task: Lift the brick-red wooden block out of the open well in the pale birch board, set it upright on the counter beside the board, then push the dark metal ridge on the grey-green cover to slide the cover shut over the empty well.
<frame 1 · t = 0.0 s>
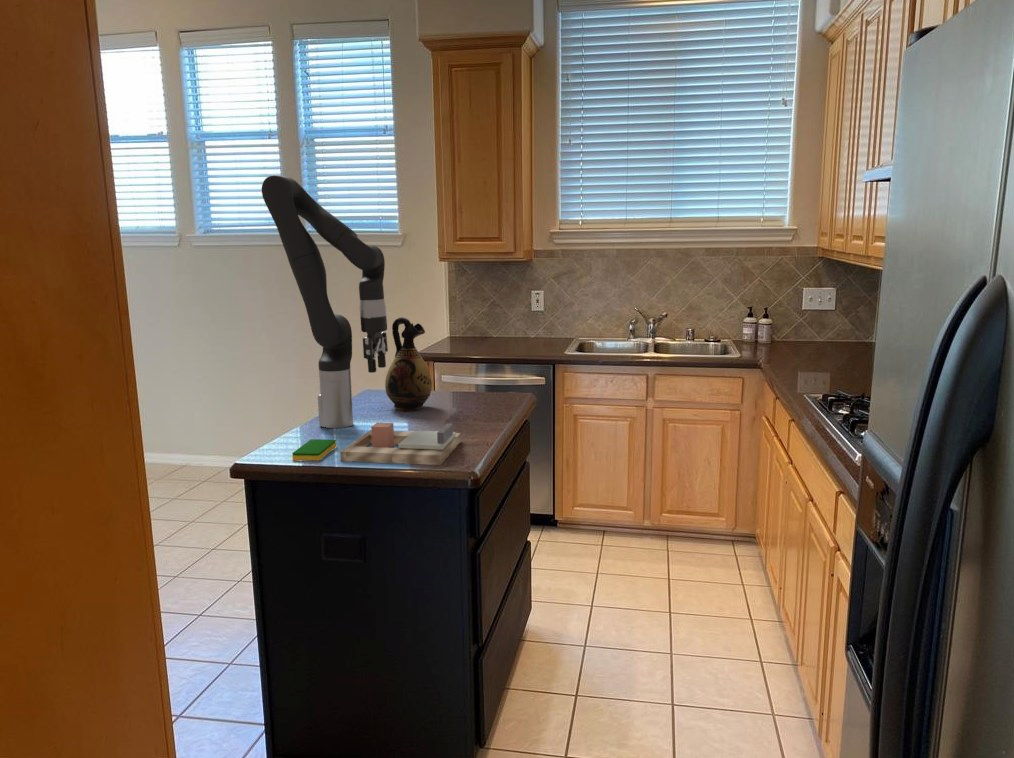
hand: (377, 369, 221), 17 cm above the countertop, tool pointing down, fingers open, 8 cm apart
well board: (401, 450, 197), on the countertop
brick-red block: (383, 450, 198), resting in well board
ceramic jug: (407, 408, 249), on the countertop
dish sponge: (315, 455, 196), on the countertop
cover: (427, 434, 195), point 5 cm above the countertop, slide at 0.0 cm
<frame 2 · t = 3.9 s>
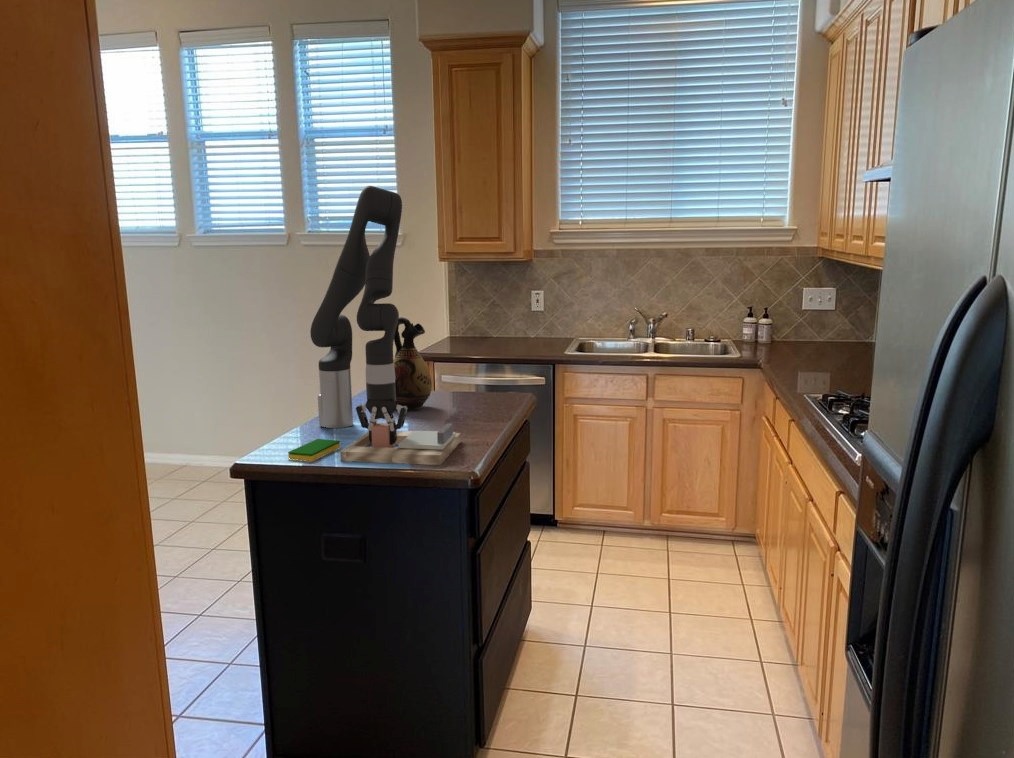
hand: (383, 443, 198), 2 cm above the countertop, tool pointing down, fingers closed on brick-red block, 4 cm apart
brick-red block: (383, 450, 198), resting in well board, touching gripper
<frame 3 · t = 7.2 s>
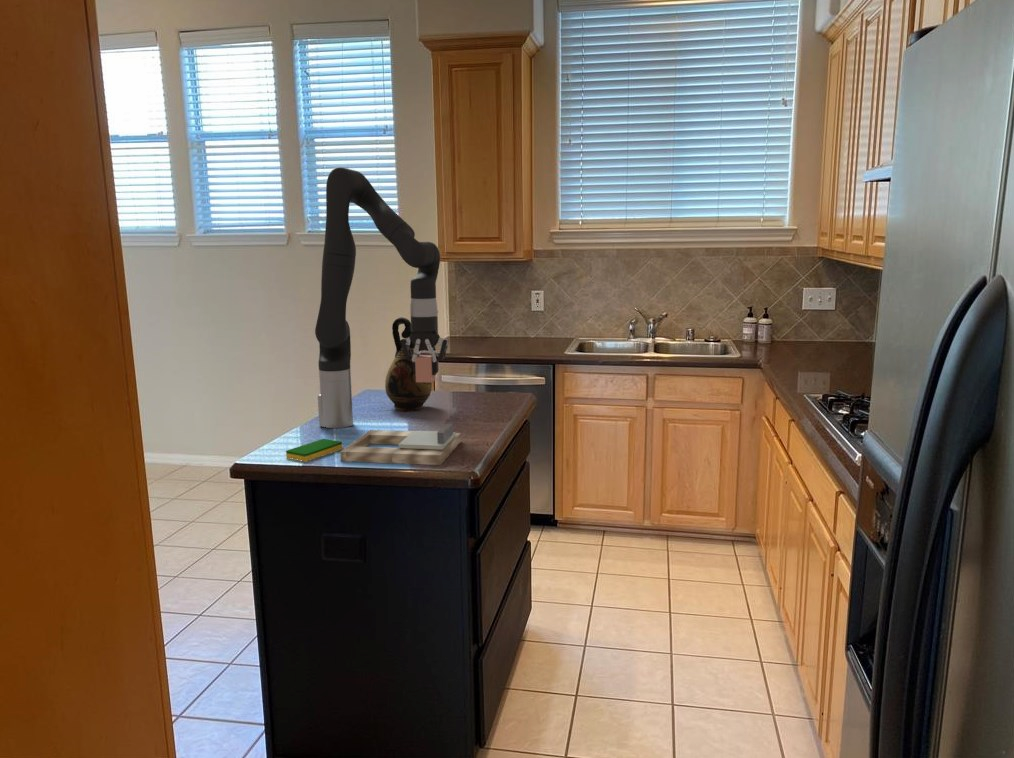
hand: (425, 374, 212), 17 cm above the countertop, tool pointing down, fingers closed on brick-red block, 4 cm apart
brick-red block: (425, 380, 212), point 15 cm above the countertop, touching gripper
when the fingers open (3 cm above the countertop, at t = 10.3 s): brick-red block drops 1 cm, on the countertop.
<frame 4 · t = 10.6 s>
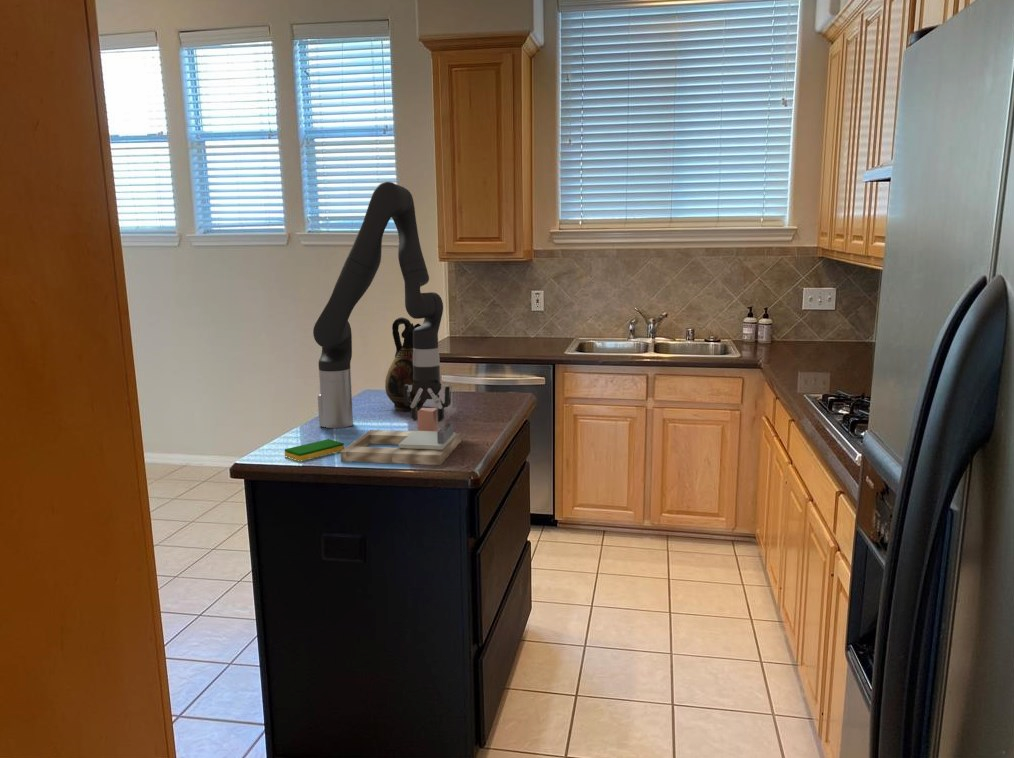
hand: (427, 420, 215), 4 cm above the countertop, tool pointing down, fingers open, 6 cm apart
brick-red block: (428, 433, 216), on the countertop
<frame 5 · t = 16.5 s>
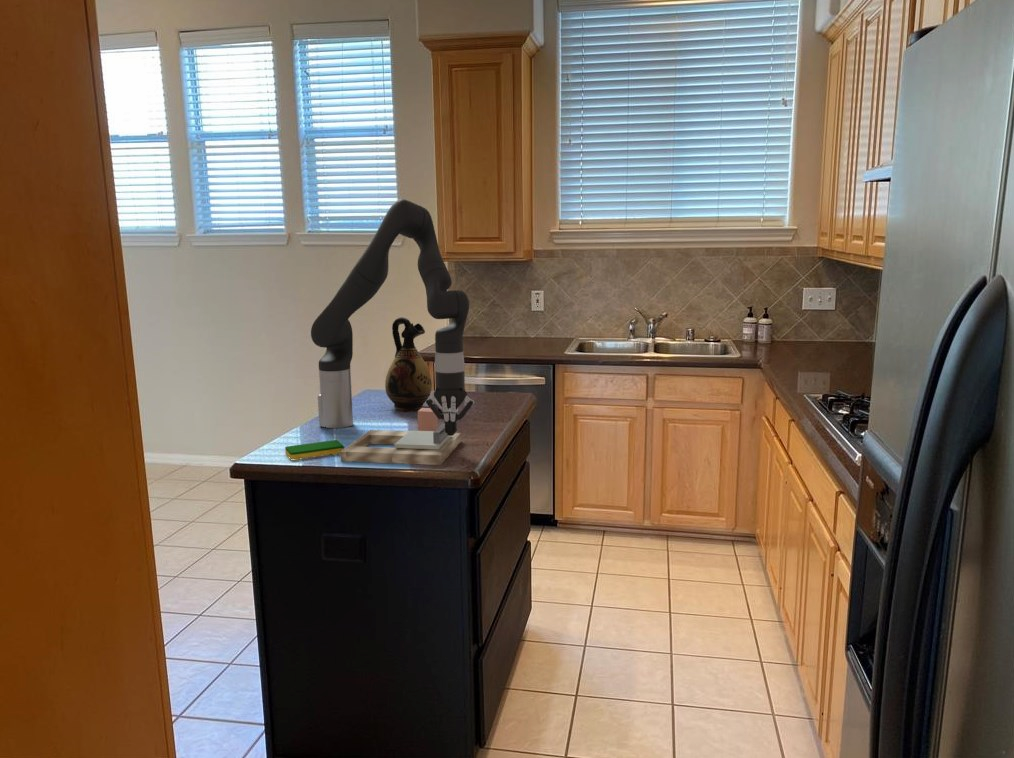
hand: (451, 434, 194), 5 cm above the countertop, tool pointing down, fingers closed
cover: (423, 434, 196), point 5 cm above the countertop, slide at 1.1 cm, touching gripper
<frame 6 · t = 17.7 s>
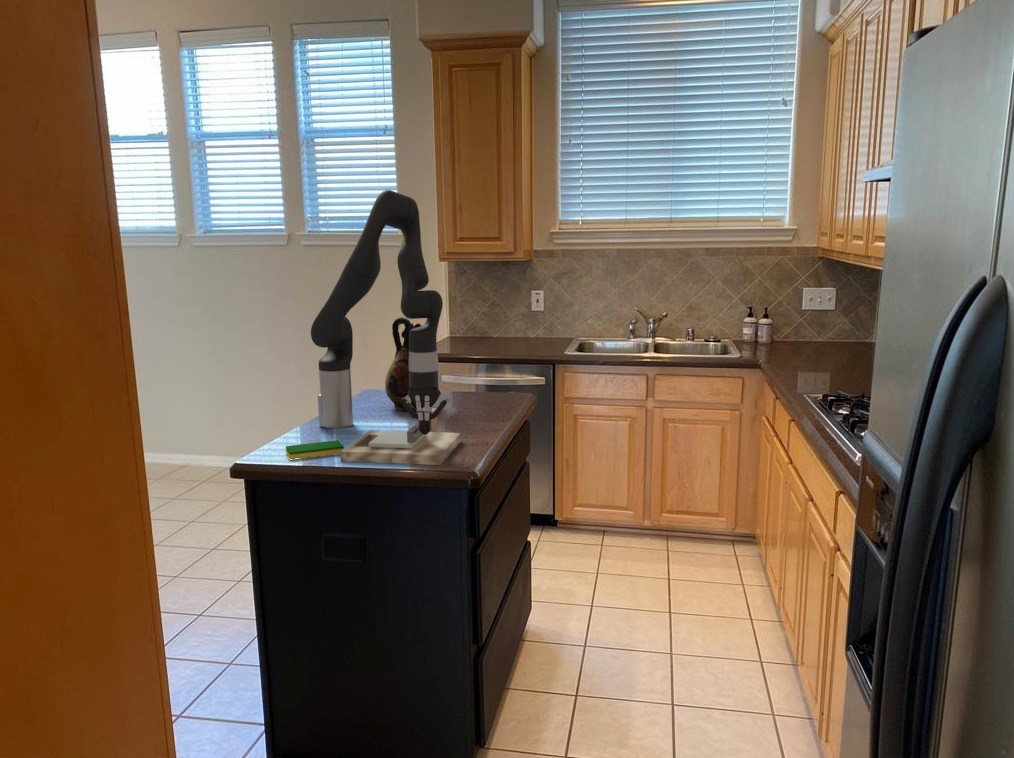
hand: (425, 433, 196), 5 cm above the countertop, tool pointing down, fingers closed
cover: (398, 433, 197), point 5 cm above the countertop, slide at 8.0 cm, touching gripper
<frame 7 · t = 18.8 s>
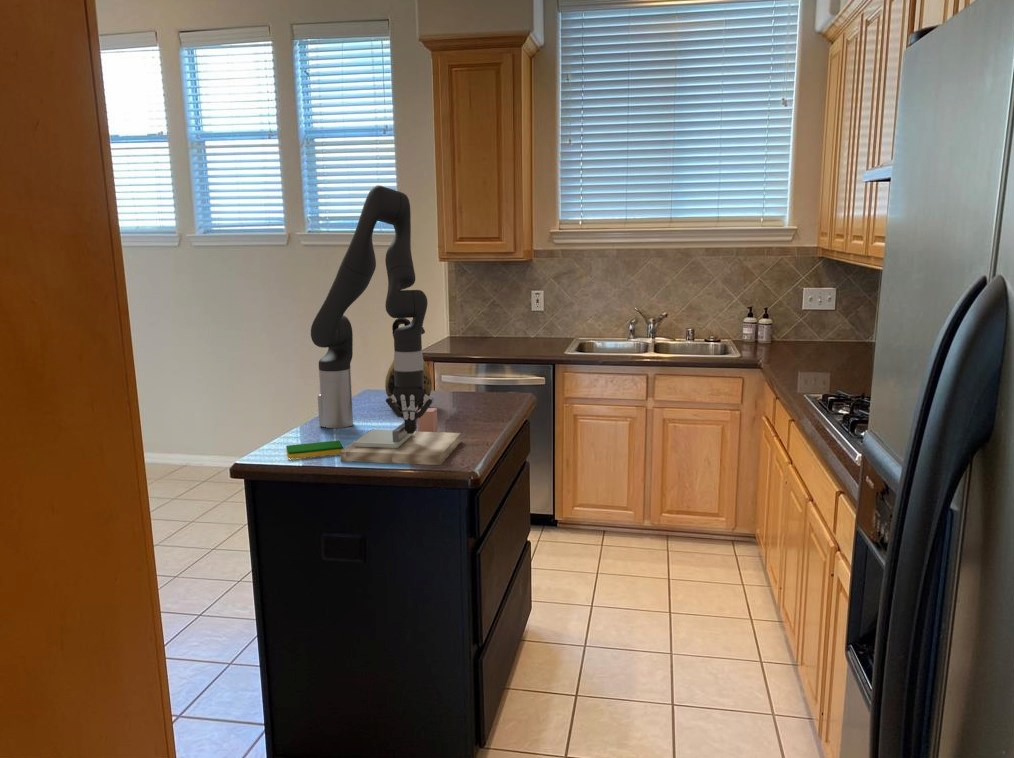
hand: (411, 432, 196), 5 cm above the countertop, tool pointing down, fingers closed
cover: (384, 433, 197), point 5 cm above the countertop, slide at 11.8 cm
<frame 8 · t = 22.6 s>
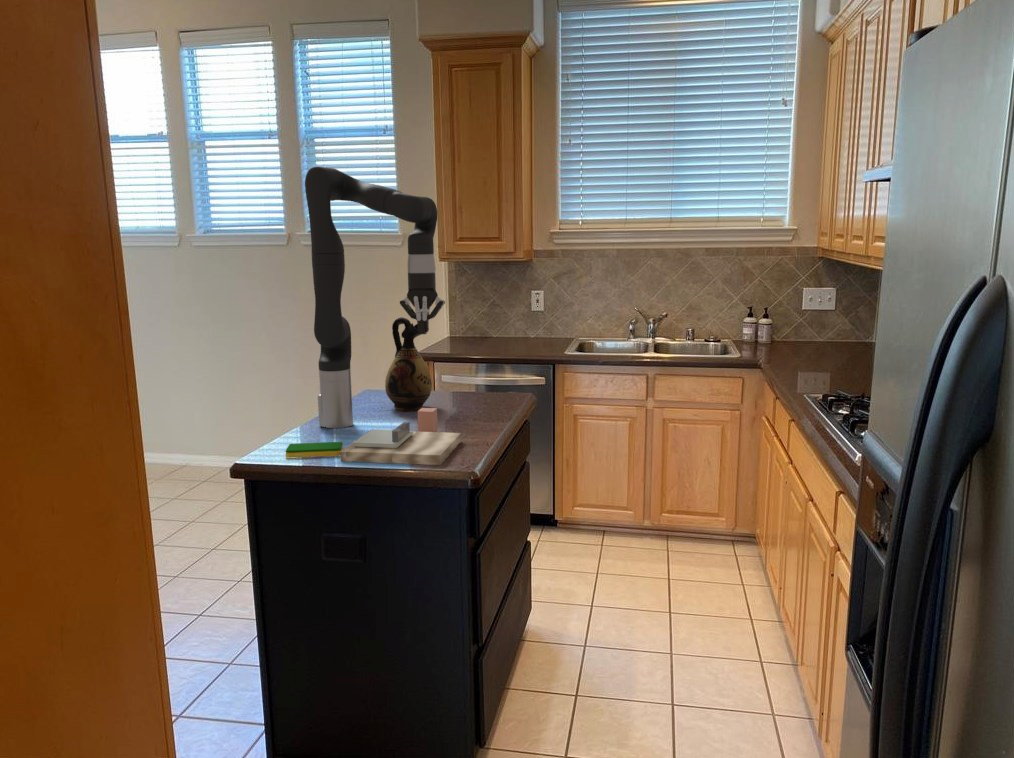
hand: (423, 333, 208), 29 cm above the countertop, tool pointing down, fingers closed
at the end: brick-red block inside the target area (0.1 cm from its centre), on the countertop; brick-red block tilted 0°; cover slide at 12.0 cm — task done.
